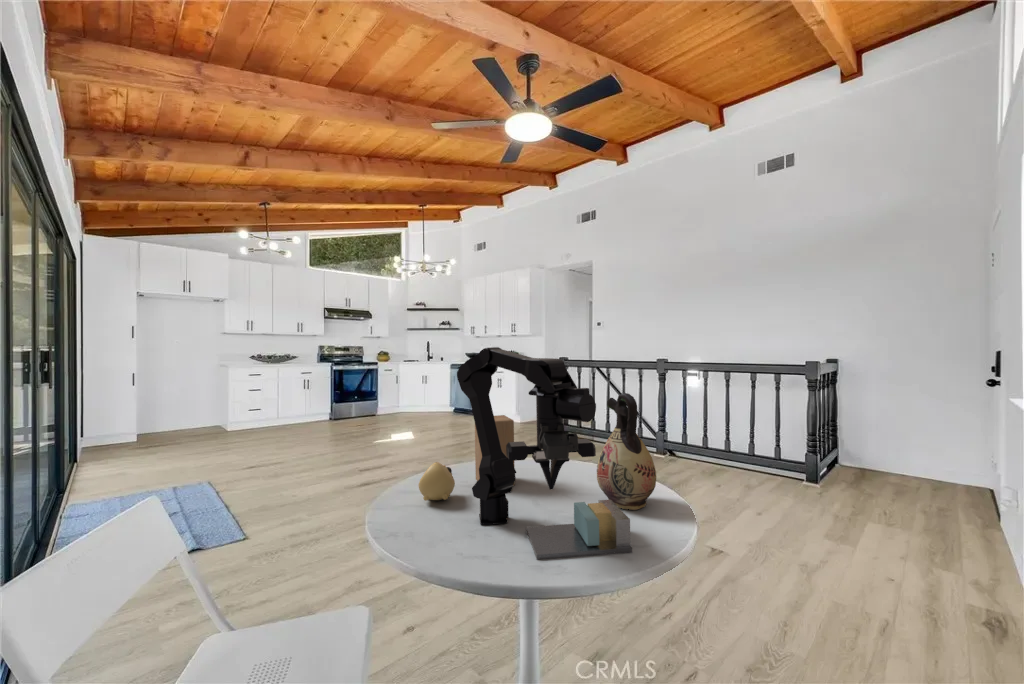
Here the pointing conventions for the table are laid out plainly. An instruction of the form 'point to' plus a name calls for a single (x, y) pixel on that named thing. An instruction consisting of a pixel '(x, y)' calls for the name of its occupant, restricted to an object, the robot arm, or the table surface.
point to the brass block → (602, 520)
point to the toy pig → (437, 482)
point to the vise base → (580, 538)
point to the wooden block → (505, 436)
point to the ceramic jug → (626, 459)
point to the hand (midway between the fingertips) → (551, 488)
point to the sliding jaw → (586, 523)
